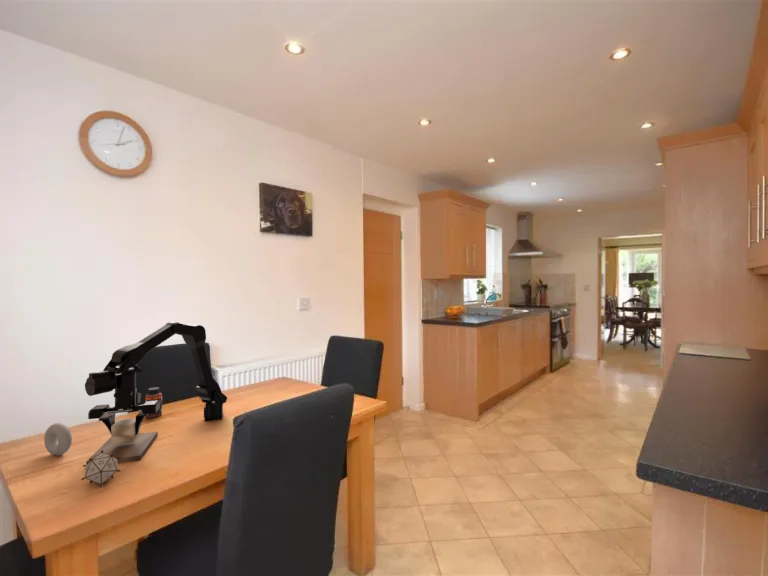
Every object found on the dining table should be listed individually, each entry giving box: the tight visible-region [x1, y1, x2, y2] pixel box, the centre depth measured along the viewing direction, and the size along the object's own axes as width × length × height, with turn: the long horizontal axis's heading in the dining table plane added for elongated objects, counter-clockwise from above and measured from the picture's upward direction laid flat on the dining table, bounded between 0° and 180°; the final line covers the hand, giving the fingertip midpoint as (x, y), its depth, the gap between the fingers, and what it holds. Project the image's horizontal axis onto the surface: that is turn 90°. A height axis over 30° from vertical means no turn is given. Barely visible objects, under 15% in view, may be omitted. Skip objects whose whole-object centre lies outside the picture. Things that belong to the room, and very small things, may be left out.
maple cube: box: [110, 417, 140, 445], centre depth 124 cm, size 6×6×6 cm
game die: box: [80, 450, 121, 488], centre depth 103 cm, size 9×8×10 cm
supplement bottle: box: [145, 386, 163, 419], centre depth 156 cm, size 6×6×11 cm
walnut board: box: [85, 431, 159, 465], centre depth 124 cm, size 14×20×2 cm
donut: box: [43, 422, 73, 456], centre depth 120 cm, size 10×4×10 cm, turn 71°
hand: (125, 435), depth 124 cm, fingers closed on maple cube, 6 cm apart
